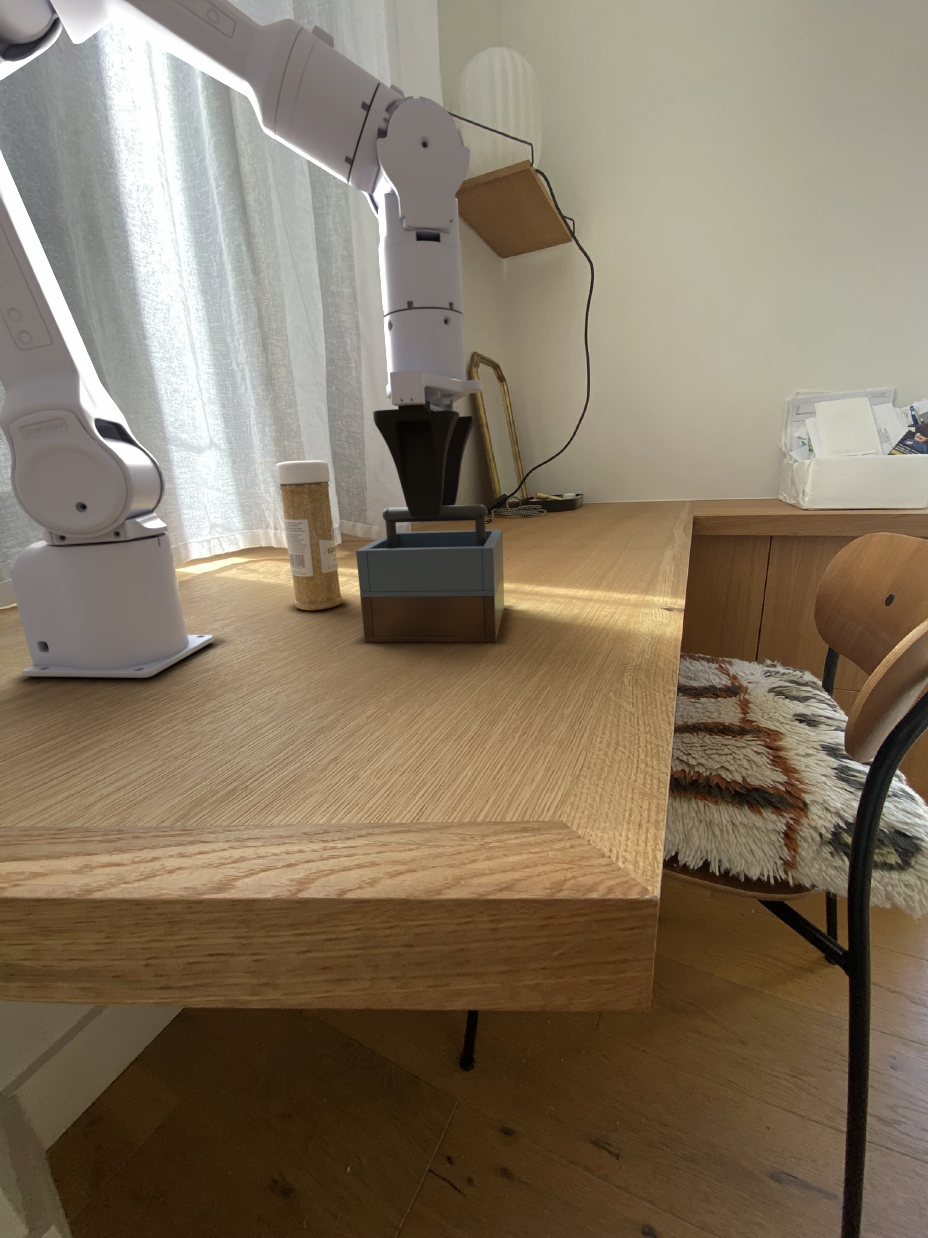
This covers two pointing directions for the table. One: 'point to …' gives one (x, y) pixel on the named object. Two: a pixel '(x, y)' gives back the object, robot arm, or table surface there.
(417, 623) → the bottom basket
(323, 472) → the sprinkles bottle
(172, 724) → the table surface
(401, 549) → the blue-gray basket with handle
